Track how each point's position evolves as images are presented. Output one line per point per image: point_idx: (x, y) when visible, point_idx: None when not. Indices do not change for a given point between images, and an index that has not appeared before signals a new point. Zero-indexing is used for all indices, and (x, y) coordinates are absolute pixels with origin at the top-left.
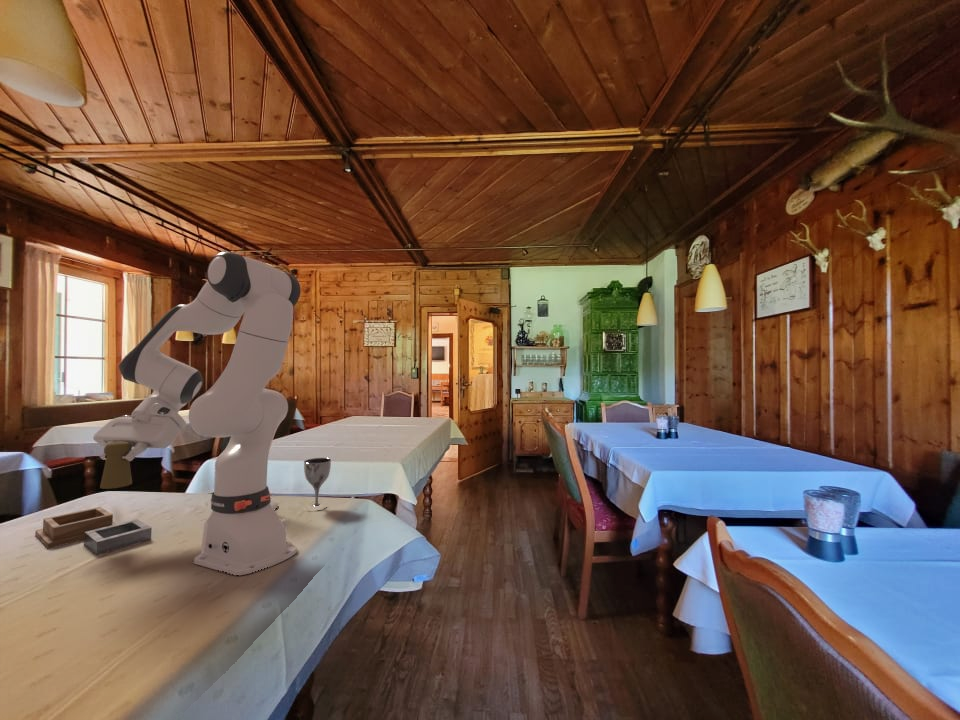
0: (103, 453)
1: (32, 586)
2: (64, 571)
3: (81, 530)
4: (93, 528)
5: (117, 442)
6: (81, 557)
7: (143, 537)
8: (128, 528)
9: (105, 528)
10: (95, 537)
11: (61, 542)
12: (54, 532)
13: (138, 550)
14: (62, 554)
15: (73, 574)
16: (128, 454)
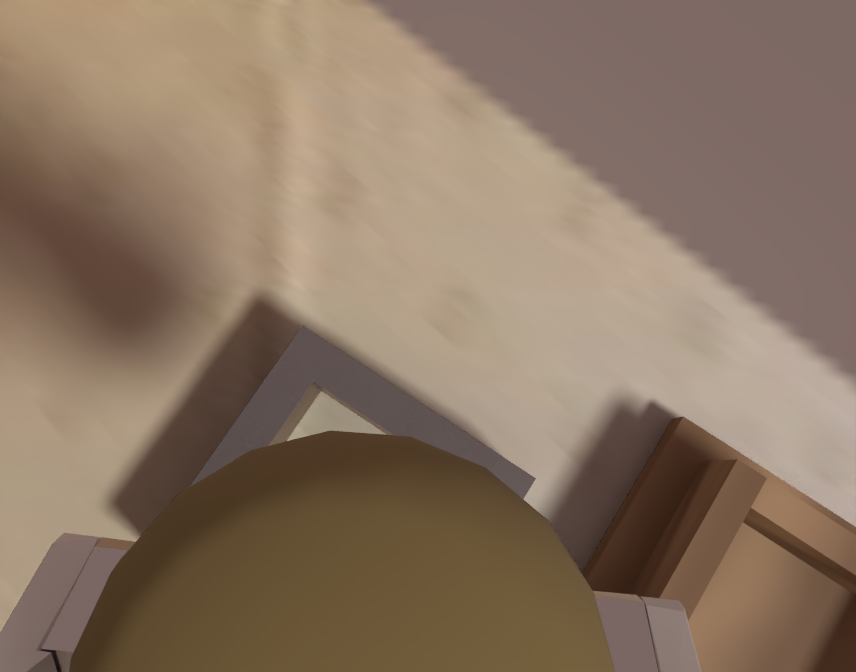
0: (658, 647)
1: (312, 42)
2: (305, 168)
3: (647, 574)
4: None
5: (280, 659)
6: (368, 312)
7: None
8: None
9: None
10: (376, 391)
11: (649, 464)
12: (721, 464)
13: (118, 400)
14: (510, 347)
15: (231, 140)
16: (44, 581)
